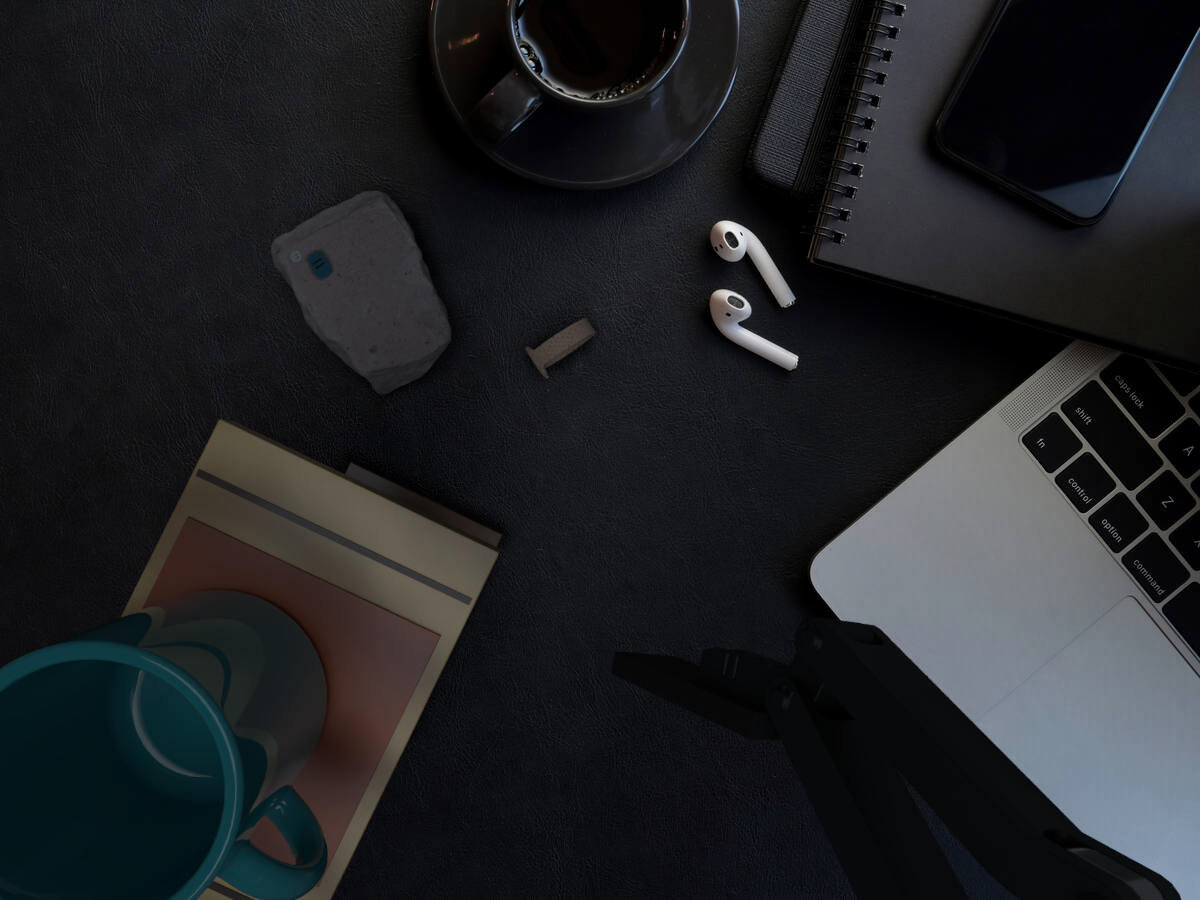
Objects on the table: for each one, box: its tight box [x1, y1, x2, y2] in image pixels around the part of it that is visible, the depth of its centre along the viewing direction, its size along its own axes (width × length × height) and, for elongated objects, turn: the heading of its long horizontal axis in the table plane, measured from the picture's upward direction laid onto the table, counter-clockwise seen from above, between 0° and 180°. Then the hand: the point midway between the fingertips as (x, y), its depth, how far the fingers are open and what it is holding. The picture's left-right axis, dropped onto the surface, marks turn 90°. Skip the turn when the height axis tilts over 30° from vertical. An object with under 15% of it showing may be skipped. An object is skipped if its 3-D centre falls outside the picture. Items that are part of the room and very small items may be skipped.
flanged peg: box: [524, 317, 596, 379], centre depth 66 cm, size 3×5×5 cm, turn 124°
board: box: [120, 418, 502, 900], centre depth 40 cm, size 20×13×2 cm, turn 154°
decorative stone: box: [270, 189, 452, 395], centre depth 65 cm, size 13×10×6 cm
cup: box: [0, 590, 328, 900], centre depth 33 cm, size 9×12×11 cm
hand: (602, 865), depth 31 cm, fingers open, 13 cm apart
